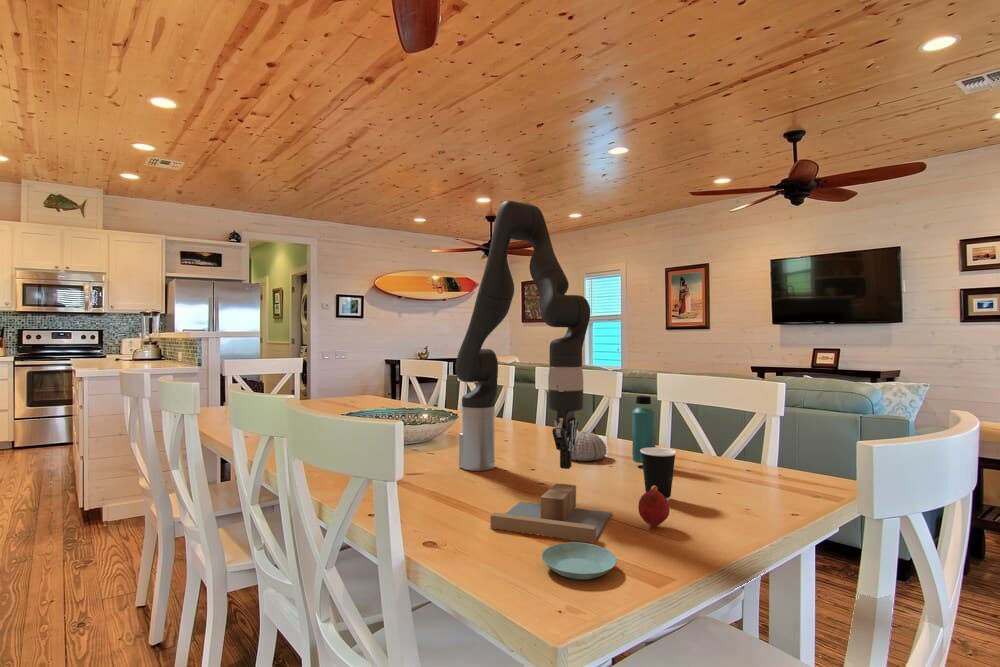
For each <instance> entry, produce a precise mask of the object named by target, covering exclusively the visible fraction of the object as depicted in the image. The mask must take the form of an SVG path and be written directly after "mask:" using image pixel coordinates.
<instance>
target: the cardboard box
mask: <svg viewBox="0 0 1000 667" xmlns="http://www.w3.org/2000/svg"><path fill="white" fill-rule="evenodd" d="M540 504H541V519H549V520H556V521H564V520H565V519H566V518H567V517H568V515H569V514H570V513H571V512H572V511H573V509H574V508H576V507H577V484H567V483H558V482H555V483H554V484H553V485H552V486H551V487H550V488H549V489H547V491H545V492H544V493H543V494H542V495H541V496H540Z"/></svg>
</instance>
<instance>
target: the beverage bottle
mask: <svg viewBox="0 0 1000 667" xmlns="http://www.w3.org/2000/svg"><path fill="white" fill-rule="evenodd" d="M635 403H636V404H638V405H651V404H652V402H651V396H649V395H636V399H635ZM631 413H632V437H631V438H632V461H633V462H634V463H637V464H643V462H642V453H641V452H640V450H641V449H643V448H657V446H656V441H657V440H656V439H657V438H656V422H655V421H656V419H655V418H656V416H655V415H656V412H655V411H654V409H652V407H646V406H645V407H643V406H639V407H638V406H637V407H635V408H634V409H633V410H632V412H631Z"/></svg>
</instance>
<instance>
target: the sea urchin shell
mask: <svg viewBox="0 0 1000 667" xmlns="http://www.w3.org/2000/svg"><path fill="white" fill-rule="evenodd" d="M571 451H572V461H576V460H578V461H579V462H591V461H597V460H601V459H603V458H604V457H605V456H606V455H607V446H606V444H605V442H604V440H603V439H602V438H601V437H600V436H598V435H597V434H595V433H593V432H588V431H577V433H576V439H575V445H574V446H573V450H571Z"/></svg>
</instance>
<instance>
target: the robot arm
mask: <svg viewBox="0 0 1000 667" xmlns="http://www.w3.org/2000/svg"><path fill="white" fill-rule="evenodd" d="M511 240H513V241H514V240H515V241H521V242H527V243H528V244H530V246H531V247H532V249H533V252H532V254H531V257H530V261H529V272H530V276H531V278H532V281H533V283H534V285H535V287H536V289H537V291H538V296H539V302H540V303H539V305H540V315H541V319H542V320H543V322H544V323H545V324H546V325H547V326H549V327H551V328H567V329H566V333H565V334H564V336H563V337H560V338H556V339H552V340H551V341H550V344H549V354H548V355H549V370H548V378H547V379H548V381H547V383H548V384H547V386H548V387H547V388H548V389H547V391H548V392H547V394H548V395H547V396H548V397H547V398H548V400H547V401H548V402H547V404H548V409H549V410H551V411H556V418H554V427H553V428H552V436H553V439H554V443H555V444H554V445H555V448H556V450H558V451H559V467H560V469H564V470H569V469H570V468H572V466H573V465H572V463H573V460H572V451H571V450H573V446H574V445H575V439H576V433H577V432H578V426H579V421H578V420H577V417H576V414H575V412H578V411H582V410H583V409H584V373H583V347H584V342H585V338H586V334H587V330H588V327H589V323H590V319H591V306H590V304H589V301H588V300H587V298H585V297H584V296H583V295H579V294H578V295H577V294H566V293H567V292H568V290H569V281H568V280H569V279H568V277H567V275H566V274H565V272H564V270H563V268H562V266H561V265H560V262H559V261H558V258H557V256H556V254H555V251H554V246H553V245H552V241H551V236H550V234H549V229H548V226H547V222H546V218H545V216H544V214H543V212H542V210H541V209H540V208H539V207H538V206H536V205H533V204H530V203H525V202H519V201H517V200H516V201H515V200H505V201H503V202H502V203H501V205H500V206H499V208H498V210H497V213H496V216H495V219H494V225H493V231H492V236H491V241H490V246H489V252H488V255H487V260H486V264H485V267H484V272H483V274H482V278H481V281H480V283H479V284H480V285H479V288H478V291H477V295H476V298H475V302H474V306H473V311H472V314H471V318H470V321H469V323H468V327H467V331H466V333H465V335H464V338H463V340H462V343H461V346H460V348H459V350H458V354H457V357H456V361H455V374H456V377H457V379H458V380H459V381H460V382H464V383H477V384H476V386H475V388H473V390H471V391H469V392H467V393H465V394H464V395H462V397H461V432H460V433H458V468H460V469H463V470H466V471H475V472H476V471H477V472H479V471H481V472H482V471H489V470H493V469H494V468H495V466H496V463H495V462H496V458H495V455H496V454H495V450H496V449H495V447H496V445H495V443H496V442H495V438H496V436H495V433H496V432H495V431H496V429H495V428H496V427H495V425H496V424H495V423H496V422H495V421H496V420H495V418H496V417H495V416H496V415H495V413H496V411H495V405H496V398H497V393H498V374H499V361H498V357H497V354H496V353H495V352H494V350H492V349H491V348H490V349H489V348H482V347H483V344H484V342H486V340H487V338H488V337H489V336H490V335H491V333H492V332H494V331H495V329H497V327H498V326H499V325H500V324H501V323H502V321H503V320H505V318H506V317H507V315H508V313H509V311H510V307H511V304H512V302H513V298H514V295H515V283H514V280H513V276H512V275H513V274H512V273H511V270H510V266H509V263H508V262H509V261H508V252H509V248H510V247H509V246H510V242H511Z"/></svg>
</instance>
